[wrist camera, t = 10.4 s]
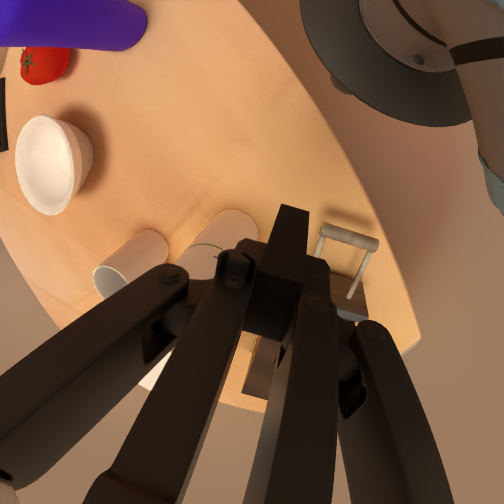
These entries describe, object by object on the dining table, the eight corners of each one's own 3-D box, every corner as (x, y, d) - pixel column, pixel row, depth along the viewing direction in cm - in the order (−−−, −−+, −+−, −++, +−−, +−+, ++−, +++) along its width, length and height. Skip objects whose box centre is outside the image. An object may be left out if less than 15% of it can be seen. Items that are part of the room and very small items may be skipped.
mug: (128, 243, 46) (86, 281, 36) (149, 219, 43) (103, 256, 33) (169, 284, 49) (136, 330, 38) (193, 265, 46) (159, 312, 35)
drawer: (305, 203, 36) (303, 226, 30) (386, 229, 35) (400, 257, 29) (265, 327, 47) (256, 362, 41) (329, 344, 47) (328, 380, 40)
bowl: (51, 105, 37) (16, 113, 29) (115, 112, 36) (77, 118, 28) (48, 187, 45) (17, 202, 37) (107, 207, 44) (74, 227, 36)
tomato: (56, 30, 29) (22, 28, 22) (88, 39, 30) (51, 36, 23) (39, 76, 34) (5, 79, 27) (68, 90, 35) (32, 94, 28)
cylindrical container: (238, 263, 44) (171, 405, 22) (200, 233, 43) (103, 358, 21) (268, 231, 40) (212, 379, 19) (228, 198, 39) (126, 319, 18)
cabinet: (272, 294, 45) (261, 337, 37) (347, 315, 44) (350, 359, 36) (252, 352, 52) (241, 393, 44) (315, 369, 51) (312, 410, 43)
